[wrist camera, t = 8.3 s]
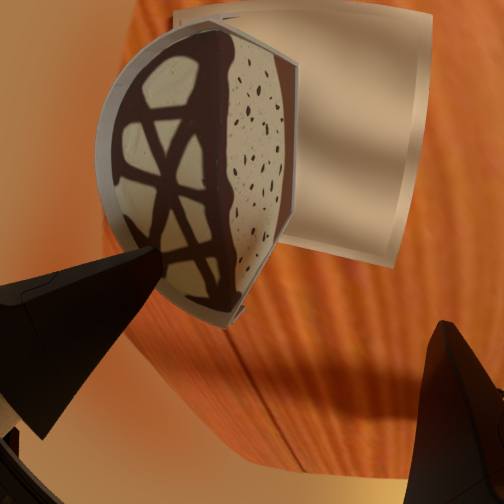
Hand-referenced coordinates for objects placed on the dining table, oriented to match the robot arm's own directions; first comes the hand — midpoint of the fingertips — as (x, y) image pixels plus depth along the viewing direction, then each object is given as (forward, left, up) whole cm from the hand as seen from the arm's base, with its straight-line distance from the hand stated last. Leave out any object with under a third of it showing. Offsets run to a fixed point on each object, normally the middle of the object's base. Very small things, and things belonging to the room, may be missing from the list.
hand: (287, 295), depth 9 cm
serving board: (+3, +4, -13) cm, 14 cm away
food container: (+2, +6, -11) cm, 13 cm away
